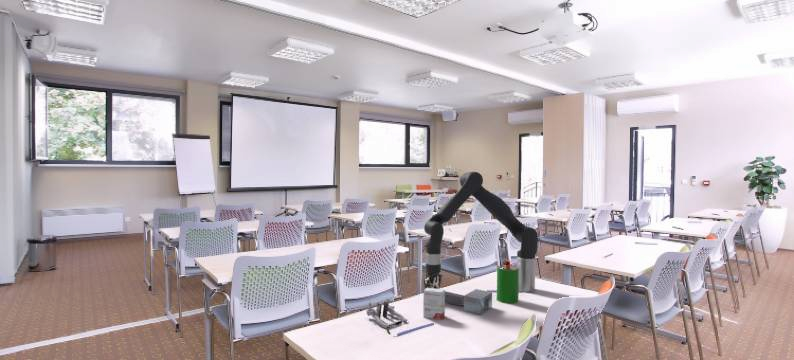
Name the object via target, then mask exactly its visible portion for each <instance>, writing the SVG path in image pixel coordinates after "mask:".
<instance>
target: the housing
mask: <svg viewBox="0 0 794 360" xmlns="http://www.w3.org/2000/svg"><path fill="white" fill-rule="evenodd" d="M492 307H493V292H492V291H486V290H482V289H478V288H476V289H474V290H472V291H470V292H468V293H466V294H464V305H463V312H467V313H471V314H474V315H479V316H482V315H483V314H484V313H485V310H490V309H492Z"/></svg>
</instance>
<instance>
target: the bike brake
mask: <svg viewBox="0 0 794 360" xmlns="http://www.w3.org/2000/svg"><path fill="white" fill-rule="evenodd" d="M389 303H390V298H386V301H385V300H383V307H382V304H380V303H379V302H377V303H376V309H375V308H374V307H372V301H371V302H370V301H369V302H368V307H367V309H366V312H365V313H366V315H367V316H371V317H372V318H373V319H374V320H375V322H376V323H377V324H378V325H380V326H381V327H383V328H385V329H386V332H387V333H388V334H389V335H392V334H391V332H390V331H389V328H394V327H395V326H399V325H401V324H406V323H408V322H407V321H408V319H407V318H406V317H405V316H404V315H402V314H400V313H399V312H397V311H396V310H394V309H395V306H393V305H390V304H389ZM382 308H383V309H382ZM388 313H389V314H391V315H393V316H395V317H398V318H399V319H400V321H396V322H389V323H384V322H383V321H382V320H381V316H382V317H384V318H385V319H387V318H388Z"/></svg>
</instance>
